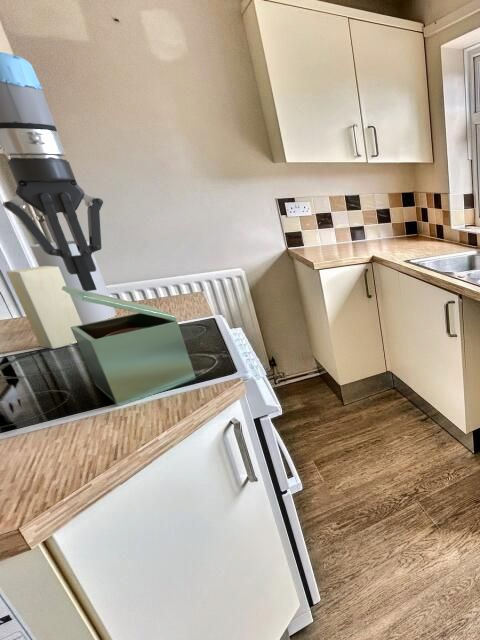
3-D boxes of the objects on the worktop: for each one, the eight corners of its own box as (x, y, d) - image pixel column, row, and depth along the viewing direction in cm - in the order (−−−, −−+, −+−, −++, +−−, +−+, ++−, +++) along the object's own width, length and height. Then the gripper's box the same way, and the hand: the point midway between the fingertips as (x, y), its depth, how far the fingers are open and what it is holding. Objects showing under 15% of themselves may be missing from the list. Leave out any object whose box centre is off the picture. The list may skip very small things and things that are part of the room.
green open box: (118, 406, 83) (90, 341, 78) (96, 386, 91) (70, 326, 86) (196, 380, 93) (177, 321, 88) (170, 364, 102) (151, 310, 97)
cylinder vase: (84, 328, 129) (50, 246, 120) (55, 326, 132) (19, 246, 123) (127, 316, 141) (98, 240, 132) (99, 314, 143) (69, 240, 134)
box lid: (81, 300, 76) (83, 295, 76) (61, 289, 84) (62, 285, 84) (175, 320, 88) (177, 317, 88) (149, 309, 96) (151, 306, 96)
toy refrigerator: (75, 336, 123) (44, 265, 115) (89, 339, 120) (58, 266, 113) (38, 346, 116) (3, 271, 108) (53, 349, 113) (17, 272, 106)
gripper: (-17, 156, 66) (46, 300, 75) (93, 157, 76) (138, 285, 85) (-23, 158, 71) (38, 294, 79) (82, 159, 80) (126, 280, 89)
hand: (89, 289), depth 82 cm, fingers closed
